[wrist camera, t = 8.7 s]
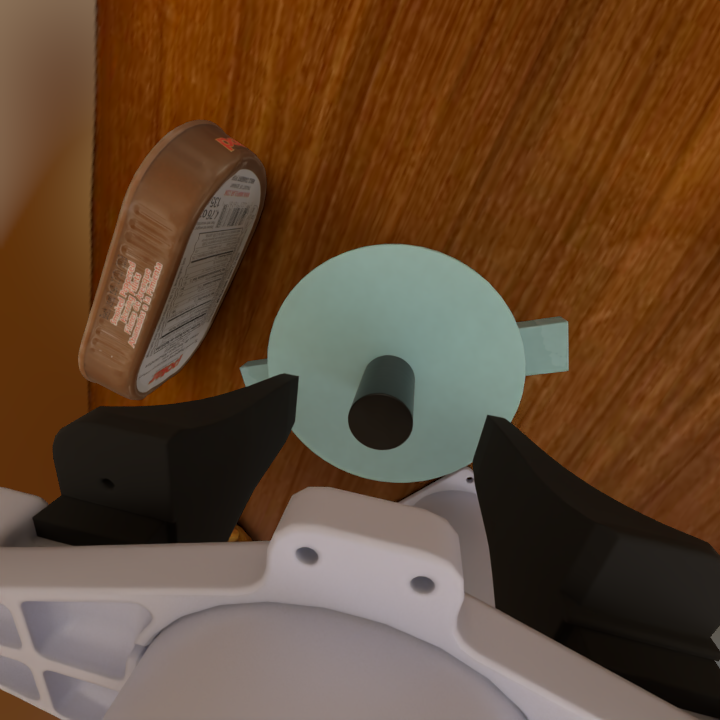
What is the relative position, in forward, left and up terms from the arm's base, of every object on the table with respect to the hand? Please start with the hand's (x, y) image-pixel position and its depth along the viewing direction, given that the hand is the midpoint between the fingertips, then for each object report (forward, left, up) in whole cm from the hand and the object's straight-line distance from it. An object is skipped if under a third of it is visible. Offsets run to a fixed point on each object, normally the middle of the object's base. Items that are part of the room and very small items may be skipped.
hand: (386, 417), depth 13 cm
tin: (+11, +6, -10) cm, 16 cm away
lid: (0, 0, -4) cm, 4 cm away
